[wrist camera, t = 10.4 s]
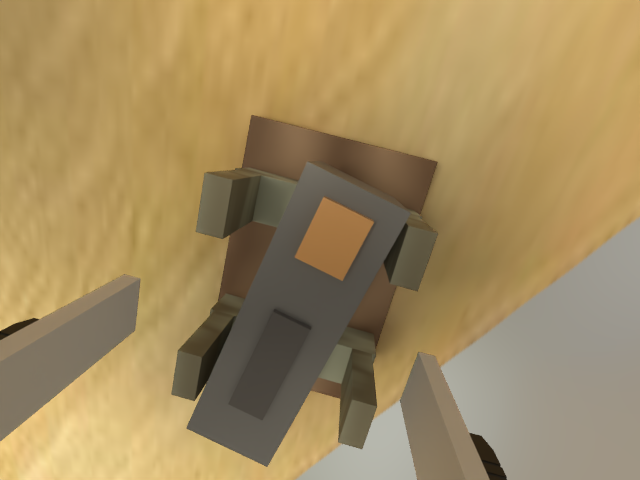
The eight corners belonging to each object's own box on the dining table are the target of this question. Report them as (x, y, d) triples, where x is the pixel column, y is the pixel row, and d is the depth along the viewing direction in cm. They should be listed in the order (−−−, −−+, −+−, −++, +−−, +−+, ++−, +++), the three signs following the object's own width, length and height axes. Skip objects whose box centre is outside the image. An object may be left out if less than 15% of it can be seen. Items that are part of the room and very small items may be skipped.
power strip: (226, 363, 24) (181, 435, 18) (320, 161, 20) (305, 161, 13) (287, 392, 24) (264, 475, 18) (394, 197, 20) (413, 214, 14)
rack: (213, 352, 28) (151, 437, 20) (256, 117, 23) (199, 91, 15) (357, 393, 28) (359, 498, 19) (433, 161, 23) (482, 162, 14)
